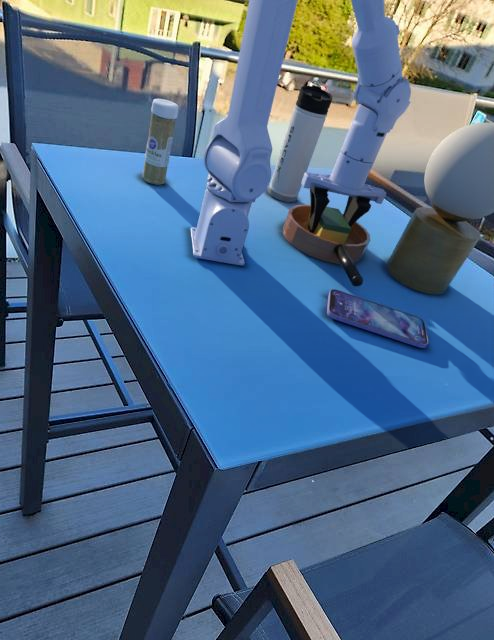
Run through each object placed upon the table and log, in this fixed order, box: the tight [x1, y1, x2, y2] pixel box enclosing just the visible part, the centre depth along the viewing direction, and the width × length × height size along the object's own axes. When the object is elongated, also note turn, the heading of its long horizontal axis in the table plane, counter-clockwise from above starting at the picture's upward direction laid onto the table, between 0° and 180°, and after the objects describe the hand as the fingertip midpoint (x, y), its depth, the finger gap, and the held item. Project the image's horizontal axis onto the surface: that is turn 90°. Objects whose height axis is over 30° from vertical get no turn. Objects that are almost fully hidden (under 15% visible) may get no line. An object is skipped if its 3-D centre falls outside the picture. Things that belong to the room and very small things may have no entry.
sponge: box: [305, 206, 351, 244], centre depth 87 cm, size 8×5×4 cm, turn 5°
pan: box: [282, 204, 371, 265], centre depth 88 cm, size 15×15×4 cm
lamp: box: [385, 122, 494, 296], centre depth 81 cm, size 15×14×25 cm
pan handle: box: [334, 244, 364, 288], centre depth 78 cm, size 12×2×2 cm, turn 5°
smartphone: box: [326, 288, 429, 349], centre depth 72 cm, size 7×1×15 cm
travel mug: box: [267, 84, 333, 203], centre depth 95 cm, size 6×7×20 cm
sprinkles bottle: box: [141, 98, 180, 186], centre depth 87 cm, size 5×5×14 cm
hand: (325, 233), depth 88 cm, fingers closed on sponge, 5 cm apart
